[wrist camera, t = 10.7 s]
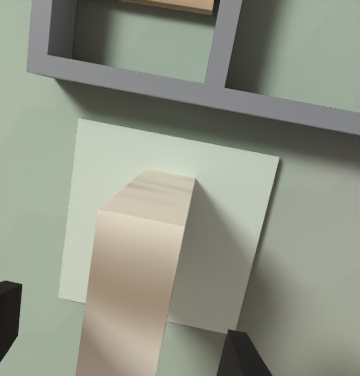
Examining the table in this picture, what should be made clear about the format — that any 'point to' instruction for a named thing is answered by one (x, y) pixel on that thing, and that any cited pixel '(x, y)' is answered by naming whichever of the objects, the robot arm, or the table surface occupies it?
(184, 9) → the offcut stack
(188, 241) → the mat
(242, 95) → the tray
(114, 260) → the pale wooden block
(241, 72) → the table surface
